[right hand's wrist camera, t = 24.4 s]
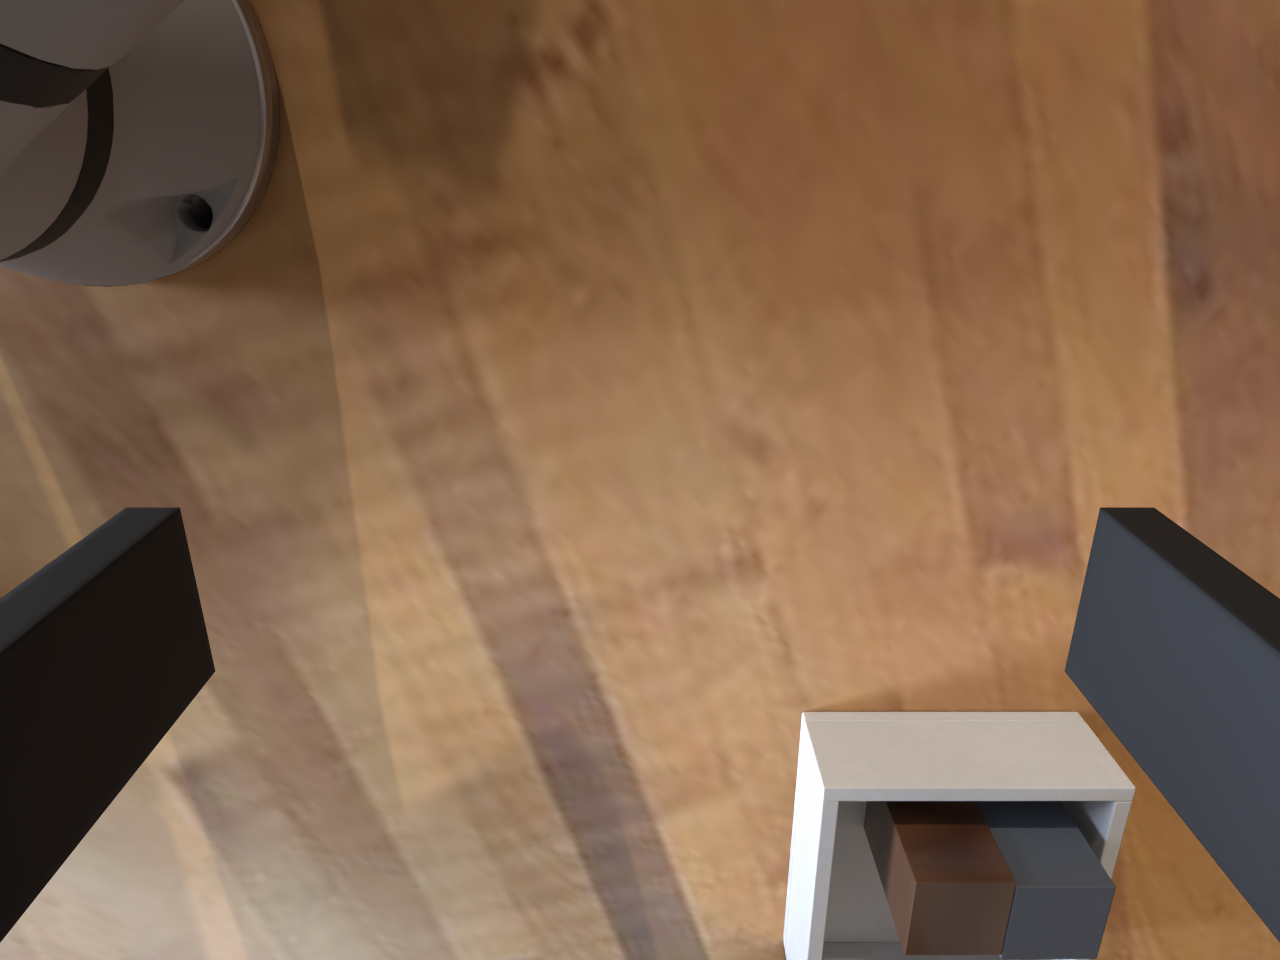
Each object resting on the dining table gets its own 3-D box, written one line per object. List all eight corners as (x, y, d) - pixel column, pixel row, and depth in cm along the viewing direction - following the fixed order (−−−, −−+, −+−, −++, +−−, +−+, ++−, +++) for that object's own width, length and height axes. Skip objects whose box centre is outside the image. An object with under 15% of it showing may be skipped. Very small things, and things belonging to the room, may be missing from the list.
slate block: (944, 831, 48) (1000, 959, 40) (955, 765, 46) (1015, 887, 38) (1025, 831, 48) (1097, 959, 40) (1039, 765, 46) (1116, 887, 38)
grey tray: (995, 1074, 56) (1033, 1173, 51) (771, 1074, 56) (785, 1173, 51) (1077, 710, 46) (1136, 787, 40) (801, 710, 46) (823, 788, 40)
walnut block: (863, 827, 48) (904, 955, 40) (871, 761, 46) (915, 882, 38) (944, 827, 48) (1001, 955, 40) (955, 761, 46) (1016, 882, 38)
